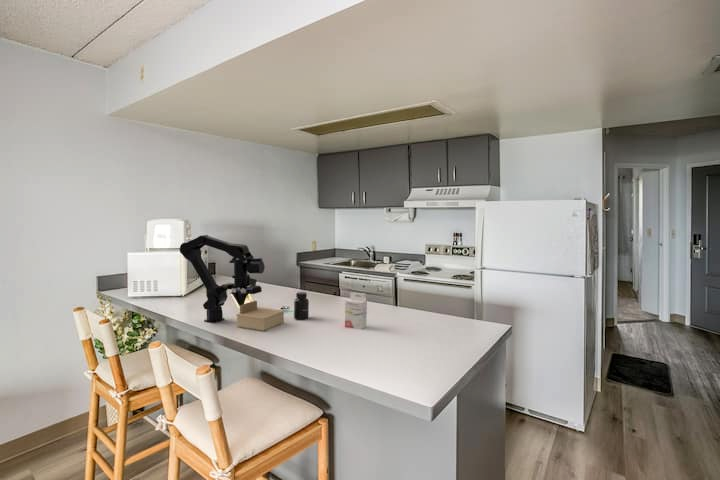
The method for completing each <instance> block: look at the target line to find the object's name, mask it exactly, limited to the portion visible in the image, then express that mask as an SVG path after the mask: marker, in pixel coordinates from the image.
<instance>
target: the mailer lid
mask: <svg viewBox="0 0 720 480" xmlns="http://www.w3.org/2000/svg"><path fill="white" fill-rule="evenodd" d="M283 312H285V310H283V309H276V308H268V307H260V306H258V300H253V301H250V302H247V303H244V304H243V305H240V306H239V313H237V314H236V315H235V316H236V317H237V316H239V317H246V318H253V319H260V320H265V319H268V318H270V317H273V316H275V315H278V314H280V313H283Z"/></svg>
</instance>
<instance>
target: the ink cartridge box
mask: <svg viewBox="0 0 720 480" xmlns="http://www.w3.org/2000/svg"><path fill="white" fill-rule="evenodd" d="M367 304H368V301H367V294H366V293H362V292H353V291H350V292H349V298H348V299H346V300H345V301H344V327H345V328H351V329H357V330H363V329H365V328H366V327H367V323H368V321H367V320H368V319H367V317H368V316H367V315H368V314H367V312H368V310H367V309H368V305H367Z"/></svg>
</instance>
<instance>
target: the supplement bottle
mask: <svg viewBox="0 0 720 480" xmlns="http://www.w3.org/2000/svg"><path fill="white" fill-rule="evenodd" d="M295 295H296V296H295V297H296V298H295V299H294V300H293V319H295V320H299V321H304V320H307V319H309V313H310V312H309V310H310V309H309V307H310V306H309V305H310V302H309V301H310V300H309V298H307V297H308V295H307V292H304V291H299V292H296V294H295Z"/></svg>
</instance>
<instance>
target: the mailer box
mask: <svg viewBox="0 0 720 480" xmlns="http://www.w3.org/2000/svg"><path fill="white" fill-rule="evenodd" d="M284 312H285V311H284ZM284 312H283V313H280V314H278V315H275V316H273V317H270V318H268V319H265V320H260V319H253V318H246V317H239V316H236V317H237V318H236V321H237V328H239V329H243V330H249V331H250V330H251V331H258V332H263V333H264V332H267V331H269V330H271V329H274V328H275V327H277V326H279V325H282V324H284V321H285V319H284V314H285V313H284Z"/></svg>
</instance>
